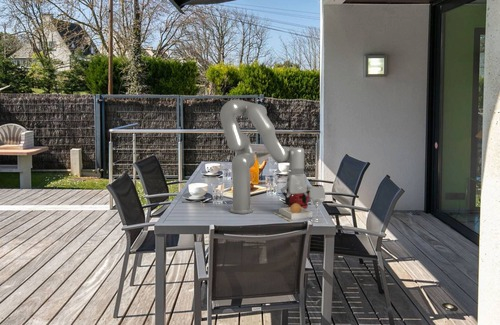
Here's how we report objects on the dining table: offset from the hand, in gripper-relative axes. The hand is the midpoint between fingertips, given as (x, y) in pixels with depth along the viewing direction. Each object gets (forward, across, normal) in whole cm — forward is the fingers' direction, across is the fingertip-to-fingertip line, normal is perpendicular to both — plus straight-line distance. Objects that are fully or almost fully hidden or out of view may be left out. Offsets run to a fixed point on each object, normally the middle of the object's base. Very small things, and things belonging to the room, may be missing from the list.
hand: (295, 203), depth 256 cm
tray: (+6, 0, 0) cm, 6 cm away
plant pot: (+7, +10, +16) cm, 20 cm away
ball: (+6, 0, 0) cm, 6 cm away
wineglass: (+6, +4, -14) cm, 16 cm away
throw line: (+6, -8, -1) cm, 10 cm away
